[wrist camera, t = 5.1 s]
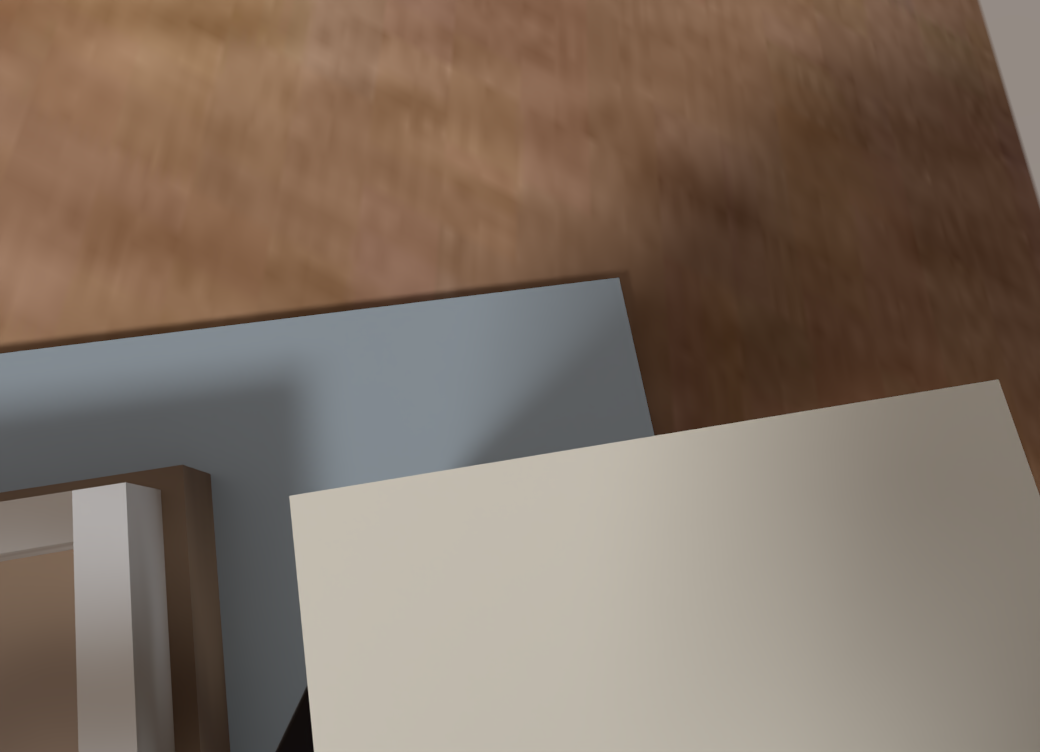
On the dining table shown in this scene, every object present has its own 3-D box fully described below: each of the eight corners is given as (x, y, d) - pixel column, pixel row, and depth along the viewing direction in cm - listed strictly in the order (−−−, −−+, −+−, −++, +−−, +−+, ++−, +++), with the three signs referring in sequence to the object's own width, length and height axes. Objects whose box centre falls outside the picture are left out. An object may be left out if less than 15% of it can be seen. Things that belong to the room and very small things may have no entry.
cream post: (634, 711, 16) (1304, 1241, 4) (428, 759, 15) (400, 1638, 3) (593, 504, 17) (997, 380, 5) (398, 538, 17) (289, 496, 4)
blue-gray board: (764, 957, 17) (774, 969, 16) (-392, 1309, 13) (-424, 1339, 12) (614, 283, 21) (618, 277, 20) (-298, 397, 17) (-320, 392, 16)
